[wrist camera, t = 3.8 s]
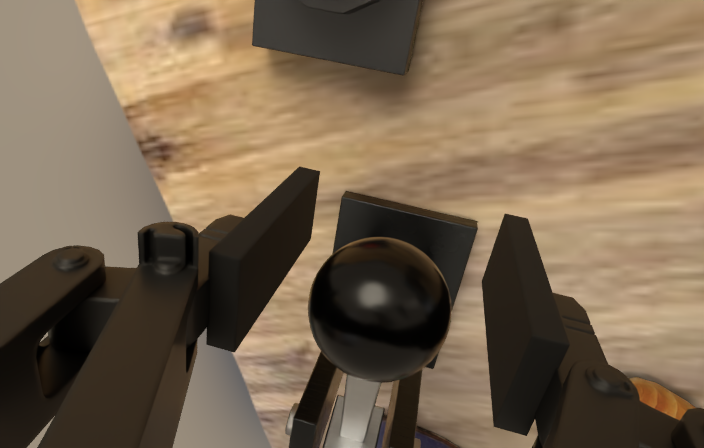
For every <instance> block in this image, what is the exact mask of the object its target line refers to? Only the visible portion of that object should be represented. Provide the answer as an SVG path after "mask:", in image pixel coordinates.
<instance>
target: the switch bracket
mask: <svg viewBox="0 0 704 448" xmlns="http://www.w3.org/2000/svg"><path fill="white" fill-rule="evenodd" d="M477 229H478V228H477V221H473V220H469V219H464V218H460V217H456V216H451V215H447V214H443V213H438V212H434V211H430V210H426V209H421V208H417V207H413V206H408V205H404V204H400V203H395V202H391V201H387V200H383V199H378V198H374V197H370V196H365V195H361V194H357V193H352V192H348V191H346V192H345V193H344V195H343V196H342V199H341V206H340V212H339V218H338V224H337V230H336V236H335V242H334V249H333V254H334V253H335V252H336V251H338V250H339V249H340V248H342V247H344V246H345V245H347V244H349V243H352V242H354V241H357V240H361V239H364V238H370V237H388V238H394V239H398V240H401V241H404V242H407V243H409V244H411V245H413V246H414V247H416V248H418V249H419V250H421V251H422V252H424V253H425V254H426V255H427V256H428V257H429V258H430V259H431V260H432V261H433V262H434V263H435V265H436V266H437V267H438V269H439V270H440V272H441V274H442V275H443V277H444V280H445V282H446V284H447V287H448V290H449V294H450V299H451V312H452V309H453V306H454V302H455V299H456V296H457V293H458V290H459V287H460V283H461V280H462V277H463V274H464V271H465V267H466V264H467V261H468V258H469V255H470V252H471V248H472V245H473V242H474V239H475V236H476V233H477ZM438 353H439V352H438ZM438 353H437V355H436V356H435V357H434V358H433V360H432V361H431V362H429V363H428V364H427V365H426V366H425V367H428V368H431V369H433V368H434V366H435V363H436V359H437V356H438ZM343 373H344V372H343V371H341V370H340V369H338V368H337V367H335V366H334V365H333V364H332V363H331V362H330V361H329V360H328V359H327V358H326V357H325V356H324V354H323V353H322V351H321V352H320V355H319V357H318V360H317V362H316V364H315V367H314V369H313V372H312V374H311V376H310V379H309V381H308V384H307V386H306V388H305V391H304V393H303V396H302V398H301V400H300V403H299V404H298V403H295V404H294V405H293V407H292V409H291V412H290V414H289V417H288V421H287V425H286V434H287V435H290V443H289V448H319V446H320V443H321V440H322V437H323V434H324V431H325V428H326V425H327V422H328V419H329V415H330V412H331V409H332V406H333V403H334V400H335V397H336V394H337V391H338V388H339V385H340V382H341V379H342V376H343ZM421 376H422V369H421V370H420V371H418V372H417V373H415V374H413V375H411V376H409V377H406V378H404V379H401V380H397V381H394V382H393V387H392V393H391V398H390V404H389V409H388V415H387V420H386V426H385V431H384V437H383V442H382V448H420V447H421V441H420V439H417V438H415V432H416V422H417V413H418V404H419V394H420V385H421Z"/></svg>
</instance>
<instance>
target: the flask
mask: <svg viewBox="0 0 704 448" xmlns="http://www.w3.org/2000/svg"><path fill="white" fill-rule="evenodd" d="M386 420H387V416H383V420H382V424H381V429H380V434H379V438H378V443H377V448H382V442H383V437H384V431H385V426H386ZM415 438H417V439H420V441H421V447H420V448H459V447H458V446H456V445H454V444H452V443H451V442H450V441H448V440H446V439H444V438H442V437H441V436H439V435H437V434H434V433H432V432H430V431H425V430H423V429H421V428H420V427H417V426H416V432H415Z"/></svg>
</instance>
